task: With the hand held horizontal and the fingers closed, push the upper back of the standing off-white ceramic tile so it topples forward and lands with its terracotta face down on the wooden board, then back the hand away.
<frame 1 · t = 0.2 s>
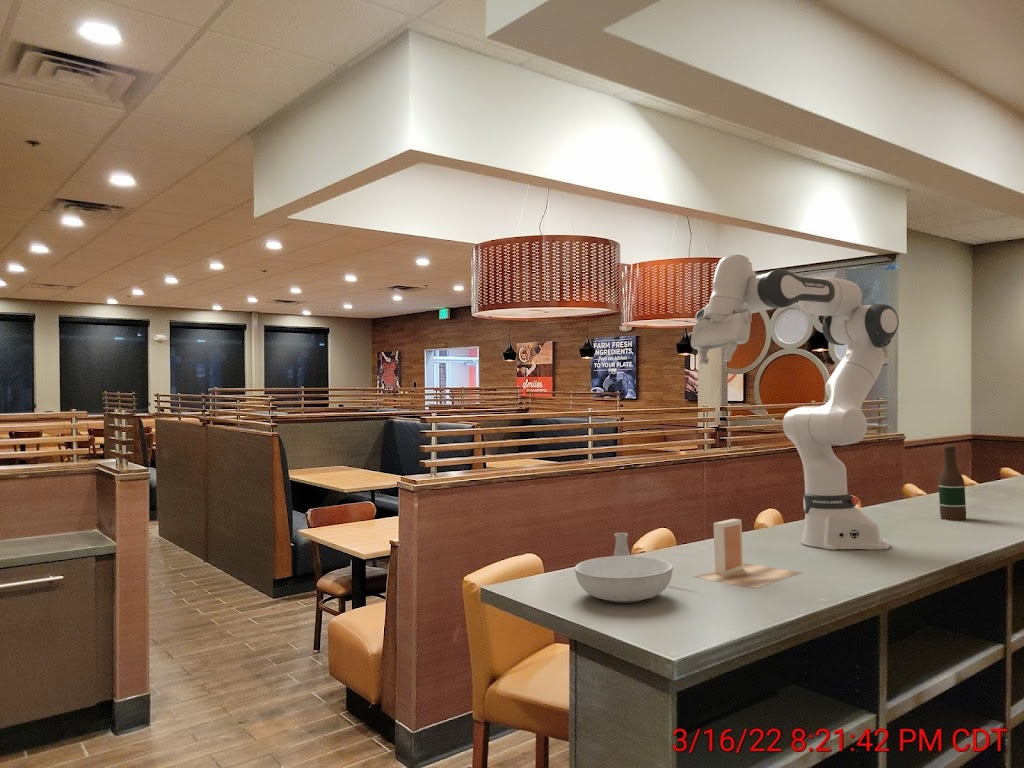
hand: (714, 362, 194), 52 cm above the table, tool tilted 15°, fingers open, 8 cm apart
serving bowl: (624, 598, 159), on the table
tile: (729, 571, 177), resting on wooden board
flask: (622, 576, 179), on the table
wooden board: (747, 576, 173), on the table
beer bottle: (953, 519, 242), on the table
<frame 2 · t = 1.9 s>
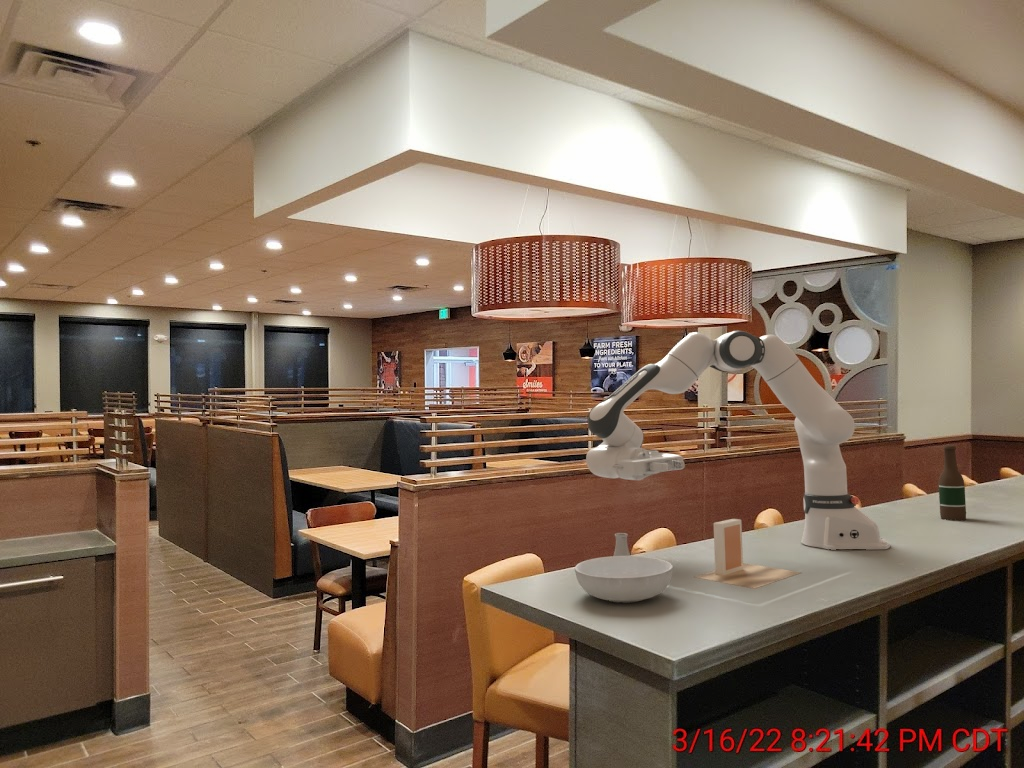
hand: (676, 466, 190), 25 cm above the table, tool horizontal, fingers open, 4 cm apart
nothing on the table moved.
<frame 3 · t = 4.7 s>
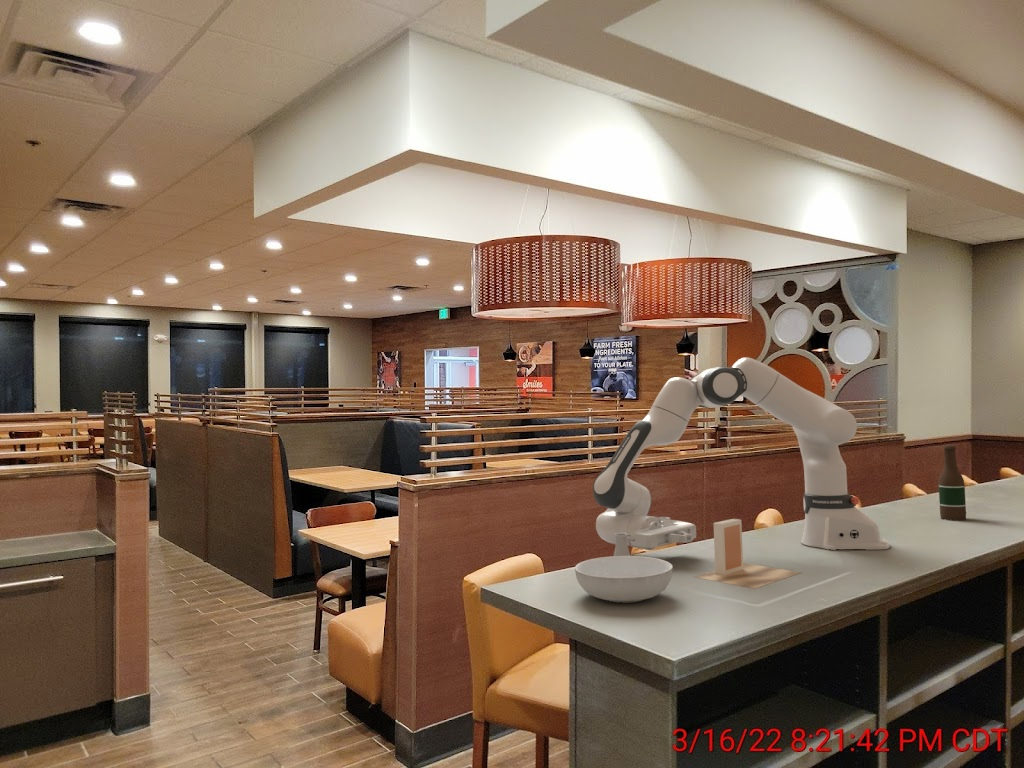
hand: (689, 538, 186), 7 cm above the table, tool horizontal, fingers closed
nothing on the table moved.
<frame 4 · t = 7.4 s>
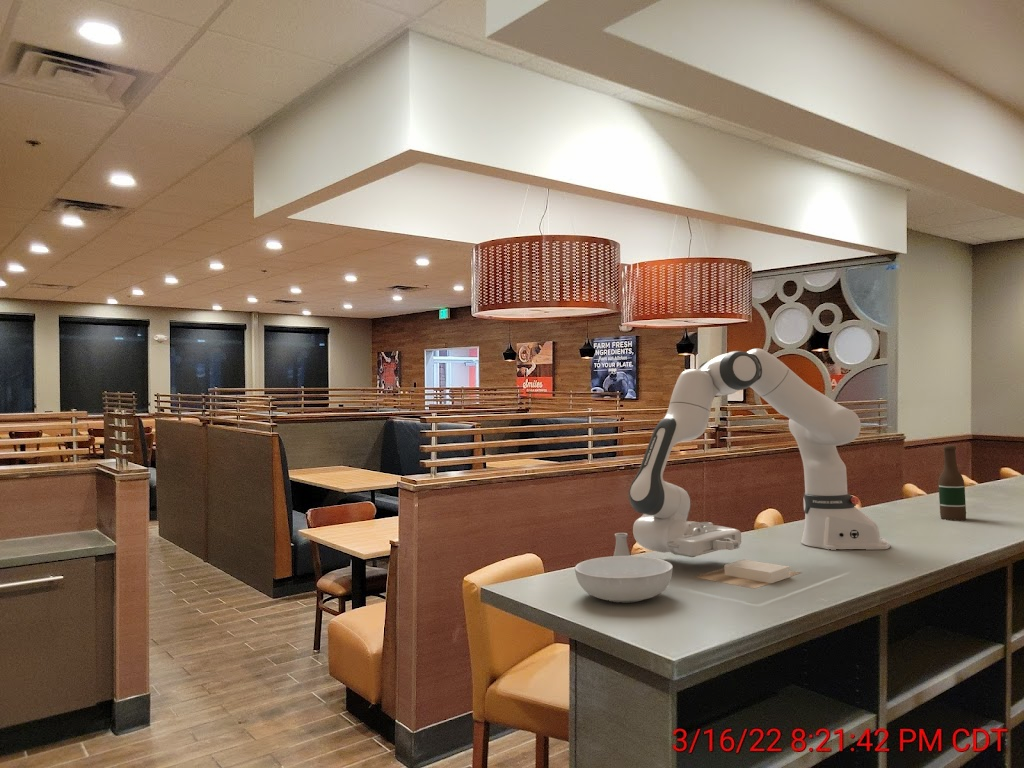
hand: (736, 545, 176), 7 cm above the table, tool horizontal, fingers closed
tile: (734, 567, 176), point 2 cm above the table, tilted 90°, touching wooden board
everything else where it was.
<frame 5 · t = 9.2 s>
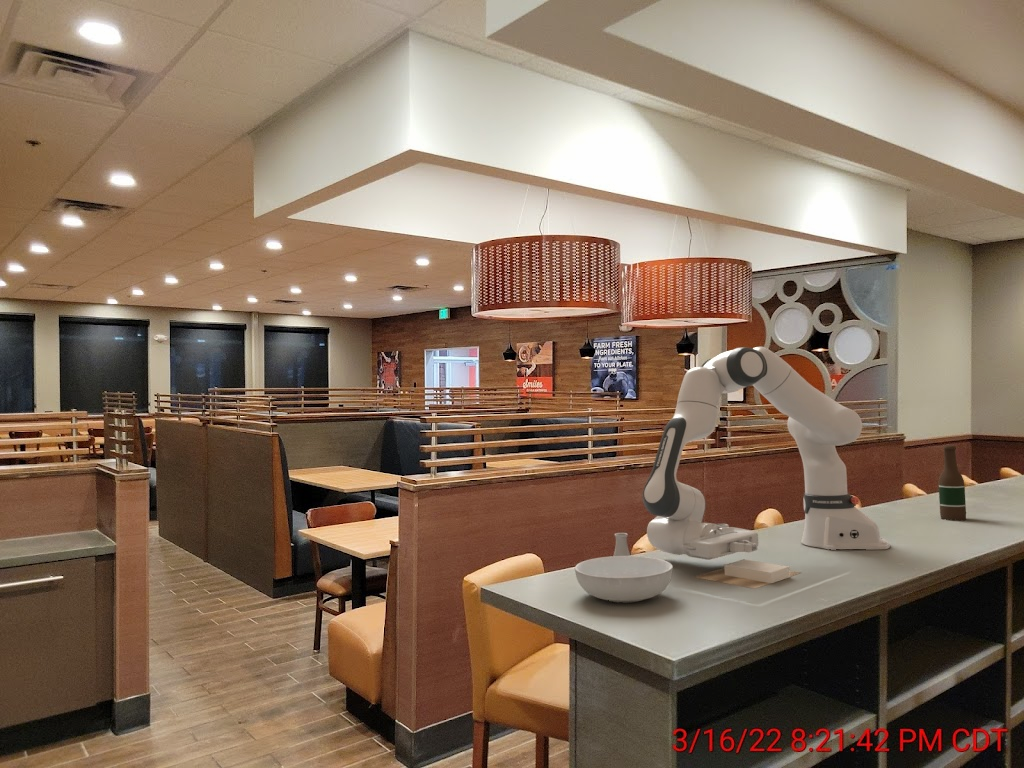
hand: (754, 547, 172), 7 cm above the table, tool horizontal, fingers closed
nothing on the table moved.
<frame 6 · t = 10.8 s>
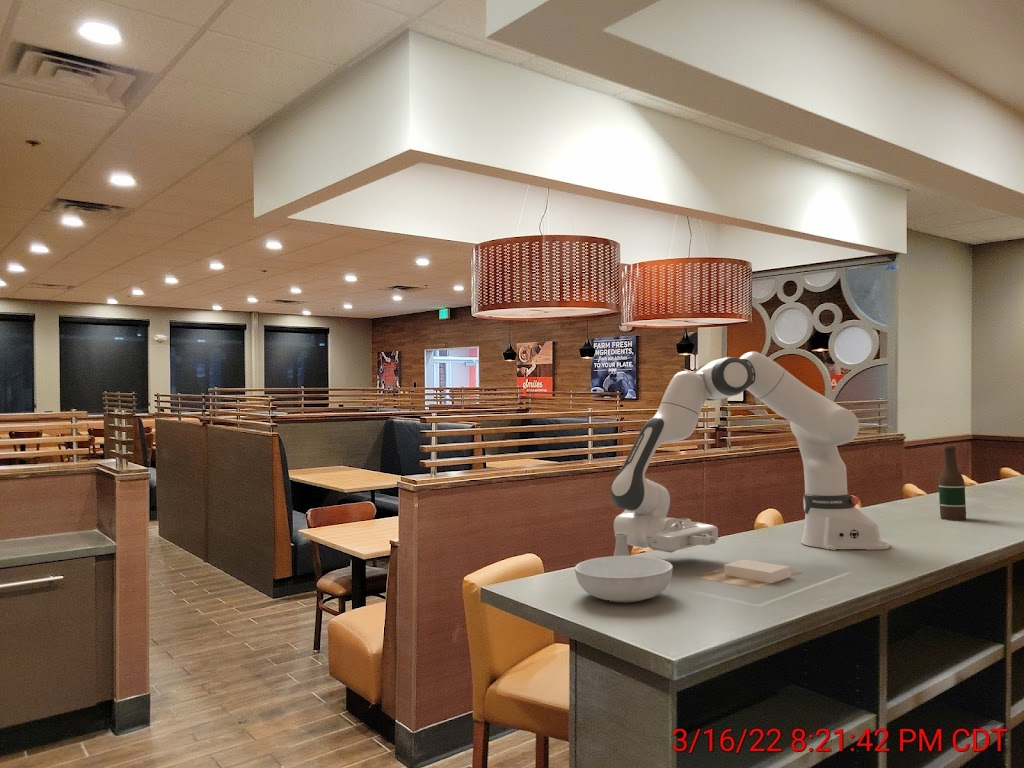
hand: (712, 541, 181), 7 cm above the table, tool horizontal, fingers closed
nothing on the table moved.
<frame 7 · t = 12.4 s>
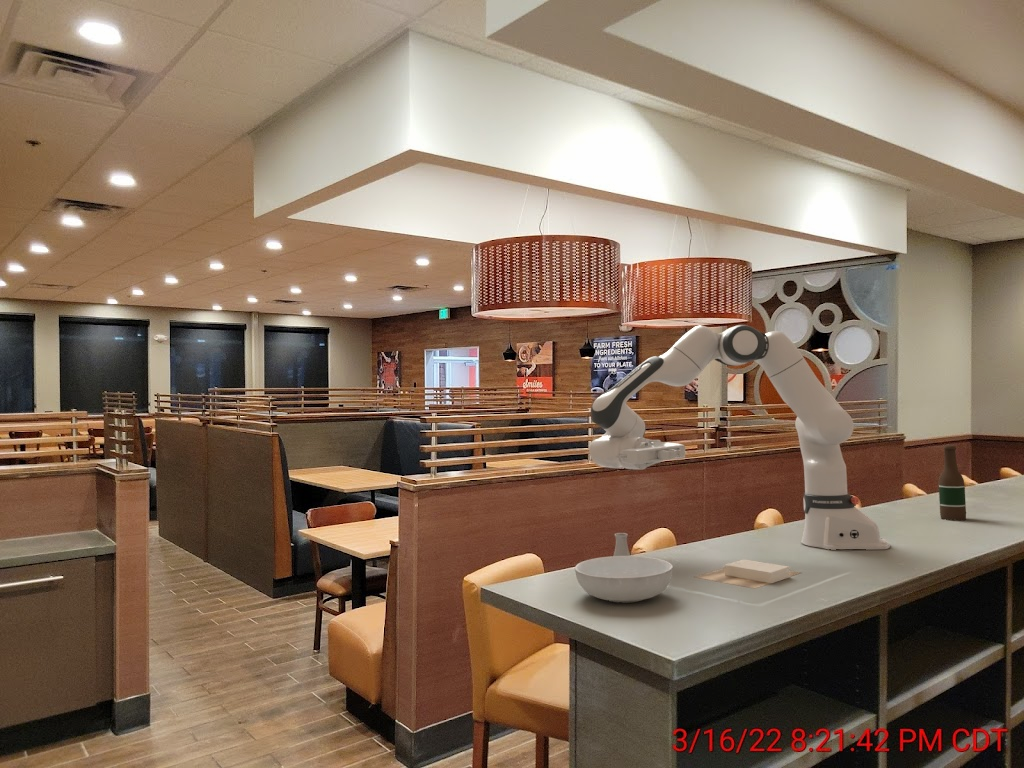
hand: (678, 454, 193), 28 cm above the table, tool horizontal, fingers closed
nothing on the table moved.
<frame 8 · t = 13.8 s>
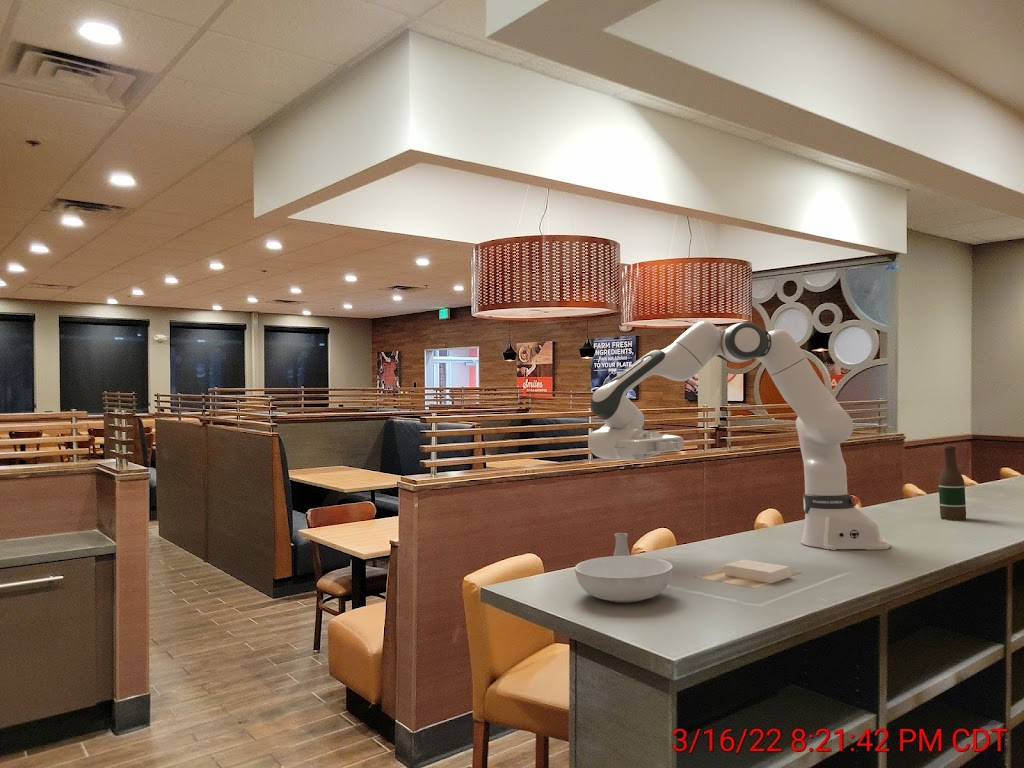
hand: (676, 445, 194), 30 cm above the table, tool horizontal, fingers closed
nothing on the table moved.
at the end: tile tilted 90°; tile 3.6 cm from the wooden board (horizontally); tile point 1.7 cm above the table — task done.
